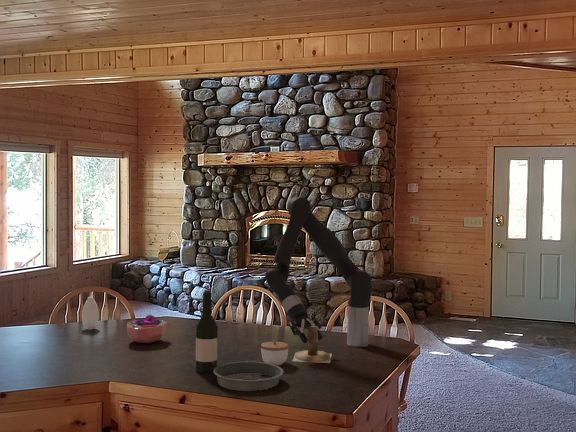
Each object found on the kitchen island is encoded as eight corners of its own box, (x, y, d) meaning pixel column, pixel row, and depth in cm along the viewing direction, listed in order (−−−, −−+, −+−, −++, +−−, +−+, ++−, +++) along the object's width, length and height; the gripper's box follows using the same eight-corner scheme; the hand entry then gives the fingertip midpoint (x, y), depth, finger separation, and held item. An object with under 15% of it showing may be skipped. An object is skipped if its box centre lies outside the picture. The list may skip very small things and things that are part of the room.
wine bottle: (213, 374, 244) (214, 292, 243) (191, 372, 246) (192, 291, 244) (220, 368, 252) (221, 289, 251) (199, 366, 254) (200, 288, 253)
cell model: (116, 344, 286) (116, 318, 286) (143, 335, 305) (143, 311, 304) (149, 349, 280) (150, 322, 280) (175, 339, 298) (175, 314, 298)
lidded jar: (290, 362, 263) (291, 338, 263) (284, 369, 253) (285, 344, 252) (264, 360, 266) (265, 336, 265) (257, 366, 255) (257, 342, 255)
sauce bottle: (96, 331, 312) (96, 292, 311) (79, 330, 312) (79, 292, 311) (100, 327, 320) (101, 290, 319) (84, 327, 320) (84, 290, 319)
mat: (331, 354, 276) (331, 353, 276) (330, 363, 261) (330, 362, 261) (295, 352, 278) (295, 352, 278) (292, 362, 263) (292, 361, 263)
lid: (330, 353, 276) (331, 325, 275) (329, 362, 262) (329, 332, 261) (296, 352, 277) (297, 323, 277) (293, 360, 263) (294, 330, 263)
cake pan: (257, 397, 218) (257, 384, 218) (198, 384, 231) (199, 372, 231) (296, 380, 239) (296, 367, 239) (240, 369, 252) (240, 357, 252)
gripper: (286, 304, 270) (306, 337, 262) (311, 301, 280) (330, 333, 272) (277, 315, 274) (296, 348, 266) (302, 311, 284) (321, 343, 276)
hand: (313, 340), depth 269 cm, fingers open, 8 cm apart
